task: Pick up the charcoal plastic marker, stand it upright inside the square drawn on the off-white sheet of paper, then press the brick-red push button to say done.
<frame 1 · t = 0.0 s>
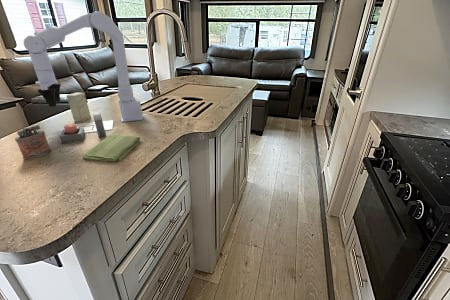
hand: (55, 103, 100), 10 cm above the countertop, tool pointing down, fingers open, 7 cm apart
done button: (70, 128, 90), point 4 cm above the countertop, slide at 0.0 cm
paper sheet: (91, 127, 103), on the countertop
lighter: (38, 155, 80), on the countertop
washcloth: (115, 151, 84), on the countertop
button housing: (74, 138, 92), on the countertop
skincare box: (83, 119, 112), on the countertop
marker: (102, 136, 95), on the countertop
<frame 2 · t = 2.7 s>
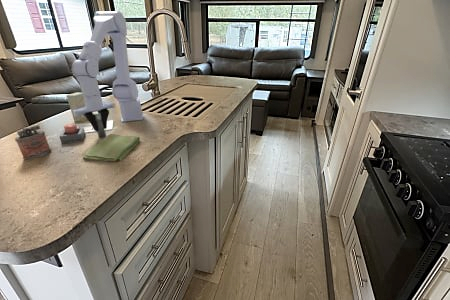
hand: (100, 129, 93), 3 cm above the countertop, tool pointing down, fingers closed on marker, 3 cm apart
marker: (102, 136, 95), on the countertop, touching gripper
everything else where it was.
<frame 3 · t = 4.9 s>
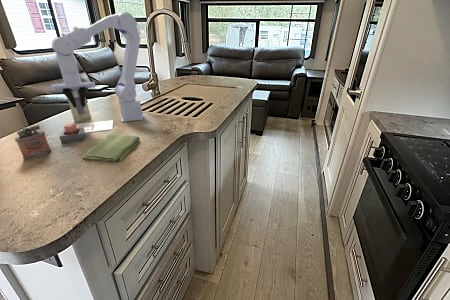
hand: (79, 106, 97), 10 cm above the countertop, tool pointing down, fingers closed on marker, 3 cm apart
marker: (81, 113, 98), point 7 cm above the countertop, touching gripper
everything else where it was.
when the fingers open (3 cm above the countertop, at t = 7.3 s): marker stays where it is, resting on paper sheet.
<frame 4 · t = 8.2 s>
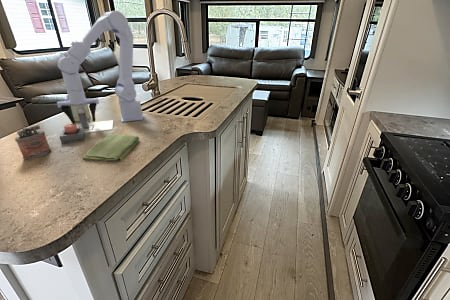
hand: (84, 122, 100), 3 cm above the countertop, tool pointing down, fingers open, 7 cm apart
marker: (85, 128, 101), resting on paper sheet
everything else where it was.
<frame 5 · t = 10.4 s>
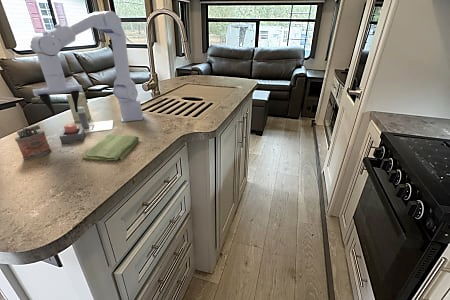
hand: (66, 113, 88), 10 cm above the countertop, tool pointing down, fingers open, 6 cm apart
nothing on the countertop moved.
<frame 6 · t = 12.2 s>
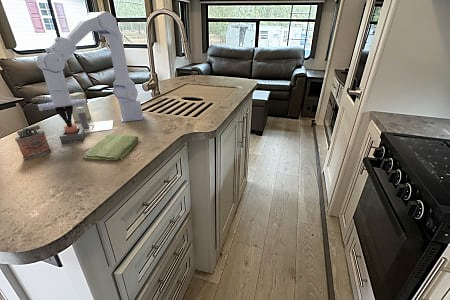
hand: (70, 126, 90), 5 cm above the countertop, tool pointing down, fingers closed, pressing on done button
done button: (71, 129, 90), point 4 cm above the countertop, slide at 0.1 cm, touching gripper
everything else where it was.
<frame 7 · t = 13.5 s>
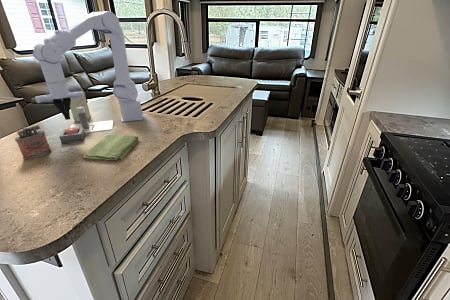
hand: (68, 118, 89), 8 cm above the countertop, tool pointing down, fingers closed
done button: (72, 132, 91), point 3 cm above the countertop, slide at 1.4 cm
everything else where it was.
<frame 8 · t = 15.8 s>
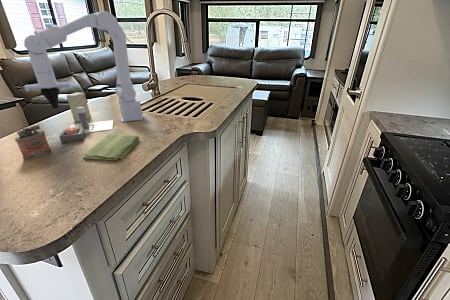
hand: (56, 107, 93), 10 cm above the countertop, tool pointing down, fingers closed
nothing on the countertop moved.
at the end: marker 0.0 cm from the target spot, resting on paper sheet; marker tilted 0°; done button slide at 1.4 cm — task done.
